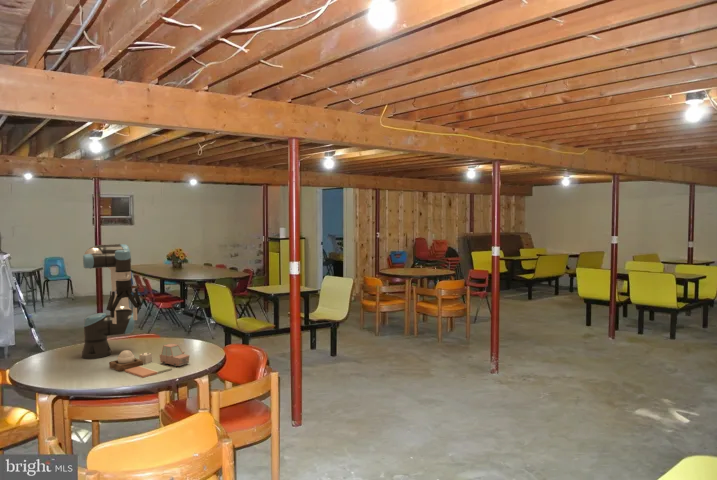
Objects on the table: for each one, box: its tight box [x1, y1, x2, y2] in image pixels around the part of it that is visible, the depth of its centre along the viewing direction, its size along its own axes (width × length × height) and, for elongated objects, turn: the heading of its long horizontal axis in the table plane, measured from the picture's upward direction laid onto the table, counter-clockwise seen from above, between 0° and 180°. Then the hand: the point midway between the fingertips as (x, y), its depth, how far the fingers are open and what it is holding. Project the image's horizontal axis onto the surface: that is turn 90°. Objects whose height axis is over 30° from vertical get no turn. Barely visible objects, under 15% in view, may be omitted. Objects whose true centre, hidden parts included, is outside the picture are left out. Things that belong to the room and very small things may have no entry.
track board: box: [124, 362, 173, 378], centre depth 277 cm, size 17×16×1 cm
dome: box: [117, 349, 135, 365], centre depth 284 cm, size 8×8×7 cm
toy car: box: [159, 343, 190, 368], centre depth 289 cm, size 9×15×10 cm, turn 59°
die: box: [138, 352, 153, 365], centre depth 293 cm, size 4×4×5 cm
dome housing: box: [108, 357, 144, 372], centre depth 285 cm, size 12×12×3 cm
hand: (125, 321), depth 283 cm, fingers open, 11 cm apart
